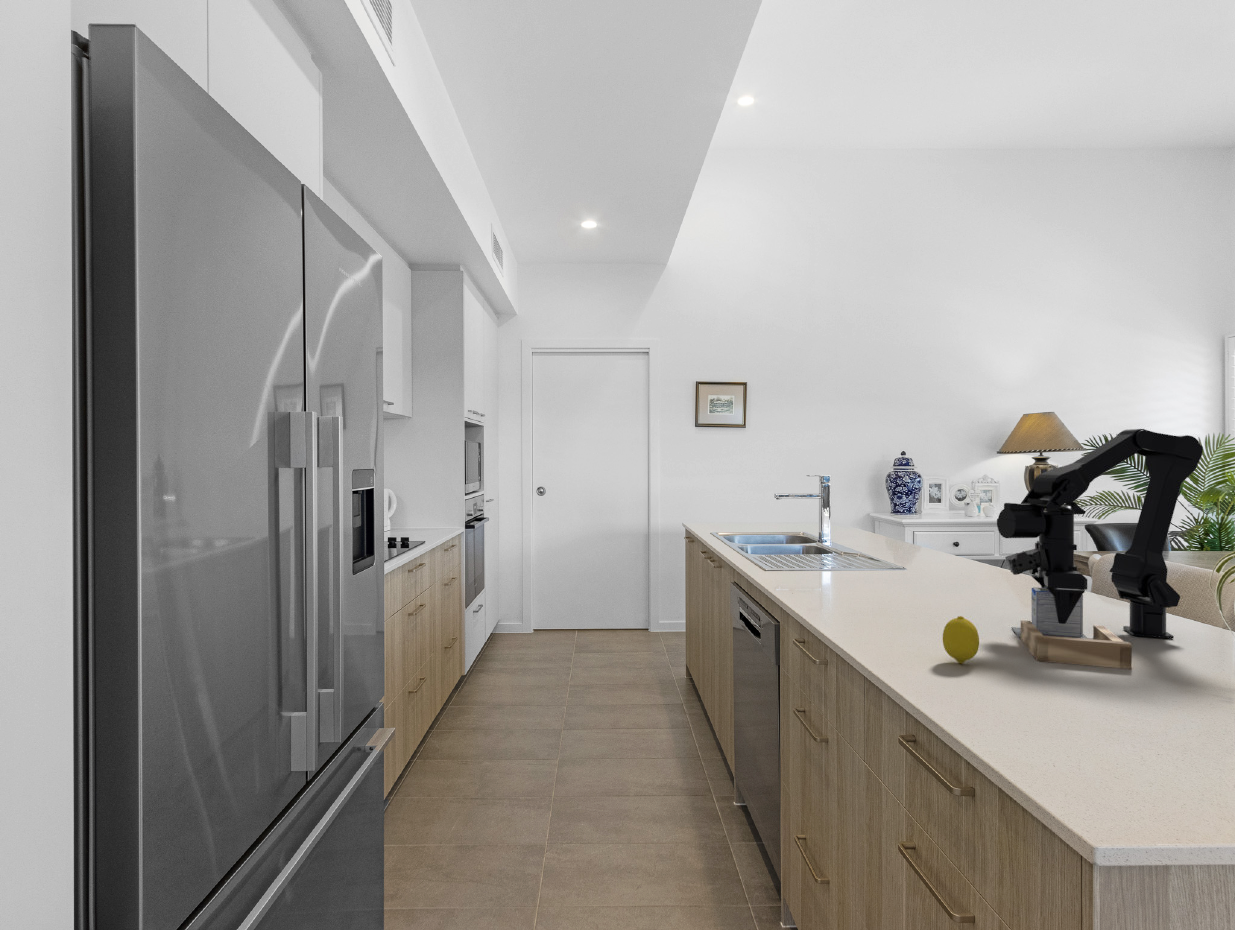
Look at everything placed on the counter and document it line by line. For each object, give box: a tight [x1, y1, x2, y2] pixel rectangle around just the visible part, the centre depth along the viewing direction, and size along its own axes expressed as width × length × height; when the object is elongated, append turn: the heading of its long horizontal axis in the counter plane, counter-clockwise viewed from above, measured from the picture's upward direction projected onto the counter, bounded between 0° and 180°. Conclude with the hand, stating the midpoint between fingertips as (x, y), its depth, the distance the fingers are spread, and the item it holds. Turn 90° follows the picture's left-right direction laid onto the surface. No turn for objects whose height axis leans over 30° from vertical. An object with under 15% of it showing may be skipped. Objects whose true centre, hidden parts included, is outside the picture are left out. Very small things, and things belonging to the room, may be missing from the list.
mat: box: [1010, 626, 1088, 639], centre depth 134 cm, size 8×12×1 cm, turn 69°
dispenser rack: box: [1020, 619, 1133, 670], centre depth 123 cm, size 16×13×4 cm
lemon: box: [942, 615, 980, 665], centre depth 117 cm, size 6×6×8 cm
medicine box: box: [1030, 587, 1084, 637], centre depth 134 cm, size 8×4×9 cm, turn 69°
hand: (1056, 618), depth 134 cm, fingers open, 9 cm apart
